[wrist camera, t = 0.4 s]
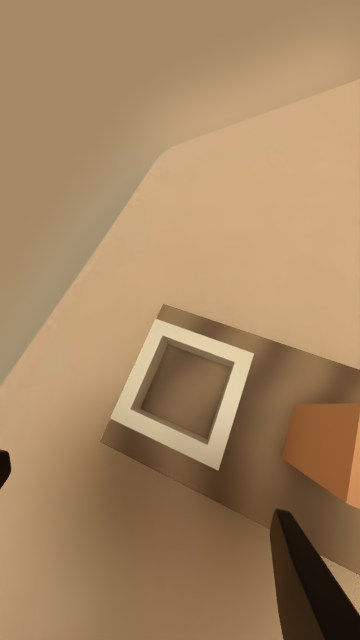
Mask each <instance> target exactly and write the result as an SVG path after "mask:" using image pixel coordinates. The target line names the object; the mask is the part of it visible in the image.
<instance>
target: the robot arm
mask: <svg viewBox="0 0 360 640" xmlns="http://www.w3.org/2000/svg"><path fill="white" fill-rule="evenodd" d="M10 473H11V463H10V456H9V453H8V452H7V451H4V450H0V489H1V487H2V486H3V484H4V483H5V482H6V480H7V479H8V477H9V475H10ZM270 542H271V551H272V560H273V569H274V578H275V587H276V596H277V604H278V612H279V618H280V623H281V629H282V634H283V639H284V640H360V615H359V613H358V612H357V610H356V609H355V607H354V606H353V604H352V603H351V601H350V600H349V598H348V597H347V595H346V594H345V592H344V591H343V589H342V588H341V586H340V585H339V583H338V582H337V580H336V579H335V577H334V576H333V574H332V573H331V571H330V570H329V569H328V567H327V566H326V564H325V563H324V561H323V560H322V558H321V557H320V555H319V554H318V552H317V551H316V549H315V548H314V546H313V545H312V543H311V542H310V540H309V539H308V537H307V536H306V534H305V533H304V531H303V530H302V528H301V527H300V525H299V524H298V522H297V521H296V519H295V518H294V516H293V515H292V514H291V513H290V512H289V511H287V510H283V509H278V508H276V509H275V511H274V514H273V518H272V522H271V526H270Z"/></svg>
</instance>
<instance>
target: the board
mask: <svg viewBox="0 0 360 640" xmlns="http://www.w3.org/2000/svg"><path fill="white" fill-rule="evenodd" d="M157 319H158V320H161V321H164V322H166V323H169V324H172V325H175V326H178V327H181V328H183V329H186V330H189V331H192V332H195V333H197V334H200V335H203V336H206V337H209V338H212V339H214V340H217V341H220V342H223V343H226V344H228V345H231V346H234V347H237V348H240V349H243V350H245V351H248V352H251V353H254V355H253V359H252V362H251V365H250V369H249V372H248V375H247V378H246V382H245V385H244V388H243V391H242V395H241V398H240V401H239V405H238V408H237V411H236V414H235V418H234V421H233V424H232V428H231V431H230V434H229V437H228V441H227V444H226V447H225V450H224V454H223V457H222V460H221V464H220V467H219V470H216V469H214V468H212V467H210V466H208V465H206V464H204V463H202V462H199V461H197V460H195V459H193V458H191V457H189V456H187V455H185V454H183V453H181V452H179V451H177V450H175V449H173V448H170V447H168V446H166V445H164V444H162V443H160V442H158V441H156V440H154V439H152V438H150V437H148V436H146V435H144V434H141V433H139V432H137V431H135V430H133V429H131V428H129V427H127V426H125V425H123V424H121V423H119V422H117V421H115V420H112V419H110V422H109V424H108V426H107V428H106V430H105V433H104V435H103V437H102V439H101V441H100V442H102V443H103V444H105V445H107V446H109V447H111V448H113V449H115V450H117V451H119V452H121V453H123V454H125V455H127V456H129V457H131V458H133V459H135V460H137V461H138V462H140V463H142V464H144V465H146V466H148V467H150V468H152V469H154V470H156V471H158V472H160V473H162V474H164V475H166V476H168V477H170V478H172V479H174V480H175V481H177V482H179V483H181V484H183V485H185V486H187V487H189V488H191V489H193V490H195V491H197V492H199V493H201V494H203V495H205V496H207V497H209V498H210V499H212V500H214V501H216V502H218V503H220V504H222V505H224V506H226V507H228V508H230V509H232V510H234V511H236V512H238V513H240V514H242V515H244V516H245V517H247V518H249V519H251V520H253V521H255V522H257V523H259V524H261V525H263V526H265V527H267V528H269V529H270V526H271V522H272V518H273V514H274V511H275V509H276V508H278V509H283V510H287V511H289V512H290V513H291V514H292V515H293V516H294V518H295V519H296V521H297V522H298V524H299V525H300V527H301V528H302V530H303V531H304V533H305V534H306V536H307V537H308V539H309V540H310V542H311V543H312V545H313V546H314V548H315V549H316V551H317V552H318V554H319V555H321V556H323V557H325V558H327V559H329V560H331V561H333V562H335V563H337V564H339V565H341V566H343V567H345V568H347V569H349V570H351V571H353V572H354V573H356V574H358V575H360V509H358V508H356V507H354V506H351V505H349V504H347V503H345V502H344V501H342V500H341V499H340V498H338V497H337V496H335V495H334V494H332V493H331V492H329V491H328V490H327V489H325V488H324V487H322V486H321V485H319V484H318V483H316V482H315V481H314V480H312V479H311V478H309V477H308V476H306V475H305V474H303V473H302V472H301V471H299V470H298V469H296V468H295V467H293V466H292V465H290V464H289V463H288V462H286V461H285V460H283V459H282V456H283V451H284V447H285V443H286V439H287V434H288V430H289V426H290V422H291V417H292V413H293V409H294V405H295V404H352V403H360V370H358V369H355V368H352V367H349V366H346V365H343V364H340V363H337V362H334V361H331V360H328V359H325V358H322V357H319V356H316V355H313V354H310V353H307V352H304V351H301V350H299V349H296V348H293V347H290V346H287V345H284V344H281V343H278V342H275V341H272V340H269V339H266V338H263V337H260V336H257V335H254V334H251V333H248V332H245V331H242V330H239V329H236V328H233V327H230V326H227V325H224V324H221V323H218V322H215V321H212V320H209V319H206V318H203V317H200V316H197V315H194V314H192V313H189V312H186V311H183V310H180V309H177V308H174V307H171V306H168V305H165V304H163V306H162V308H161V310H160V312H159V314H158V317H157ZM230 369H231V368H230V367H228V366H225V365H222V364H220V363H217V362H214V361H212V360H209V359H206V358H204V357H201V356H198V355H196V354H193V353H190V352H188V351H185V350H182V349H180V348H177V347H174V346H172V345H169V344H168V345H167V347H166V349H165V352H164V354H163V356H162V359H161V361H160V363H159V366H158V368H157V370H156V373H155V375H154V378H153V380H152V382H151V385H150V387H149V389H148V392H147V394H146V396H145V399H144V401H143V403H142V406H141V408H140V409H142V410H144V411H146V412H149V413H151V414H153V415H155V416H157V417H160V418H162V419H164V420H166V421H168V422H170V423H173V424H175V425H177V426H179V427H181V428H184V429H186V430H188V431H190V432H192V433H195V434H197V435H199V436H201V437H203V438H206V439H208V436H209V433H210V430H211V427H212V424H213V421H214V418H215V415H216V412H217V409H218V406H219V403H220V400H221V397H222V394H223V391H224V388H225V384H226V381H227V378H228V375H229V372H230Z"/></svg>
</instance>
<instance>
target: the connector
mask: <svg viewBox="0 0 360 640" xmlns="http://www.w3.org/2000/svg"><path fill="white" fill-rule="evenodd" d="M282 459H283V460H285V461H286V462H288V463H289V464H290V465H292V466H293V467H295V468H296V469H298V470H299V471H301V472H302V473H303V474H305V475H306V476H308V477H309V478H311V479H312V480H314V481H315V482H316V483H318V484H319V485H321V486H322V487H324V488H325V489H327V490H328V491H329V492H331V493H332V494H334V495H335V496H337V497H338V498H340V499H341V500H342V501H344V502H345V503H347V504H349V505H351V506H354V507H356V508H358V509H360V403H352V404H295V405H294V409H293V413H292V417H291V422H290V426H289V430H288V434H287V439H286V443H285V447H284V451H283V456H282Z"/></svg>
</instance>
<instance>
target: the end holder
mask: <svg viewBox="0 0 360 640" xmlns="http://www.w3.org/2000/svg"><path fill="white" fill-rule="evenodd" d="M168 344H169V345H172V346H174V347H177V348H180V349H182V350H185V351H188V352H190V353H193V354H196V355H198V356H201V357H204V358H206V359H209V360H212V361H214V362H217V363H220V364H222V365H225V366H228V367H230V368H231V369H230V372H229V375H228V378H227V381H226V384H225V388H224V391H223V394H222V397H221V400H220V403H219V406H218V409H217V412H216V415H215V418H214V421H213V424H212V427H211V430H210V433H209V436H208V439H206V438H203V437H201V436H199V435H197V434H195V433H192V432H190V431H188V430H186V429H184V428H181V427H179V426H177V425H175V424H173V423H170V422H168V421H166V420H164V419H162V418H160V417H157V416H155V415H153V414H151V413H149V412H146V411H144V410H142V409H140V408H141V406H142V403H143V401H144V399H145V396H146V394H147V392H148V389H149V387H150V385H151V382H152V380H153V378H154V375H155V373H156V370H157V368H158V366H159V363H160V361H161V359H162V356H163V354H164V352H165V349H166V347H167V345H168ZM253 355H254V353H251V352H248V351H245V350H243V349H240V348H237V347H234V346H231V345H228V344H226V343H223V342H220V341H217V340H214V339H212V338H209V337H206V336H203V335H200V334H197V333H195V332H192V331H189V330H186V329H183V328H181V327H178V326H175V325H172V324H169V323H166V322H164V321H161V320H158V319H155V321H154V323H153V326H152V328H151V330H150V332H149V334H148V336H147V339H146V341H145V343H144V345H143V347H142V350H141V352H140V354H139V356H138V358H137V360H136V363H135V365H134V367H133V369H132V371H131V374H130V376H129V378H128V380H127V382H126V384H125V387H124V389H123V391H122V393H121V395H120V397H119V400H118V402H117V404H116V406H115V408H114V411H113V413H112V415H111V417H110V419H112V420H115V421H117V422H119V423H121V424H123V425H125V426H127V427H129V428H131V429H133V430H135V431H137V432H139V433H141V434H144V435H146V436H148V437H150V438H152V439H154V440H156V441H158V442H160V443H162V444H164V445H166V446H168V447H170V448H173V449H175V450H177V451H179V452H181V453H183V454H185V455H187V456H189V457H191V458H193V459H195V460H197V461H199V462H202V463H204V464H206V465H208V466H210V467H212V468H214V469H216V470H219V467H220V464H221V460H222V457H223V454H224V450H225V447H226V444H227V441H228V437H229V434H230V431H231V428H232V424H233V421H234V418H235V414H236V411H237V408H238V405H239V401H240V398H241V395H242V391H243V388H244V385H245V382H246V378H247V375H248V372H249V369H250V365H251V362H252V359H253Z"/></svg>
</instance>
